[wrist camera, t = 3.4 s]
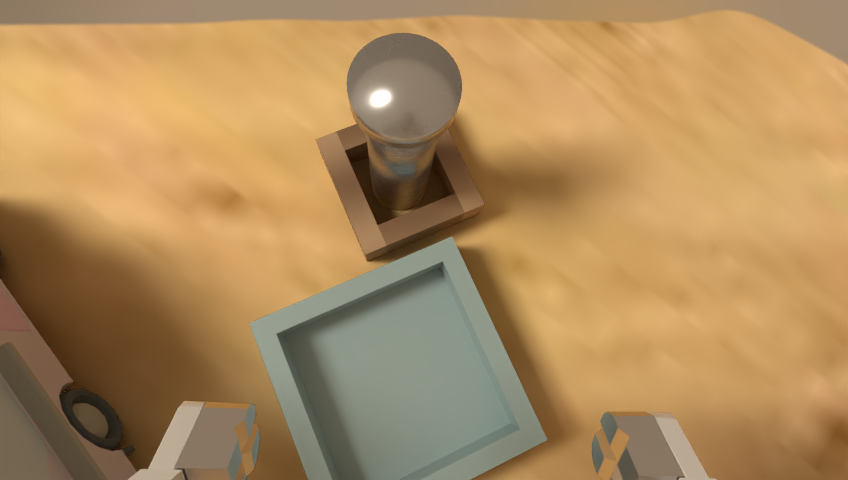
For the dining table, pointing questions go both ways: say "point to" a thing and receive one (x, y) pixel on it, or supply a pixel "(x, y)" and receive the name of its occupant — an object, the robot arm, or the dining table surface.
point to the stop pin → (403, 111)
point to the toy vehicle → (50, 412)
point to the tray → (398, 375)
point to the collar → (409, 226)
